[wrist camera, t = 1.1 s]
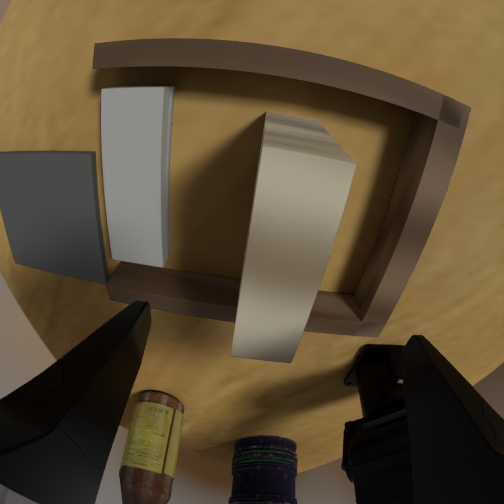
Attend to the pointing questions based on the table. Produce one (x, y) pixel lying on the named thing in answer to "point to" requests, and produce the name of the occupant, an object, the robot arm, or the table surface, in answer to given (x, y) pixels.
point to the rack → (397, 215)
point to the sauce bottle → (151, 449)
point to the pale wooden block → (289, 234)
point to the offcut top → (136, 171)
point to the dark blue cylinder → (264, 471)
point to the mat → (53, 212)
